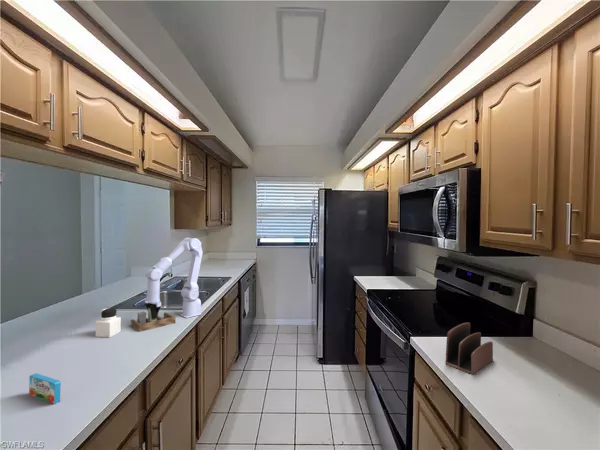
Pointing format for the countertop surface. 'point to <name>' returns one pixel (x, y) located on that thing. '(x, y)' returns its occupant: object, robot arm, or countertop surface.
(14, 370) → the countertop surface
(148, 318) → the sage block
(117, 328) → the medicine bottle
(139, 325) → the comb rack
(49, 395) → the yogurt
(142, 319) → the gray block
